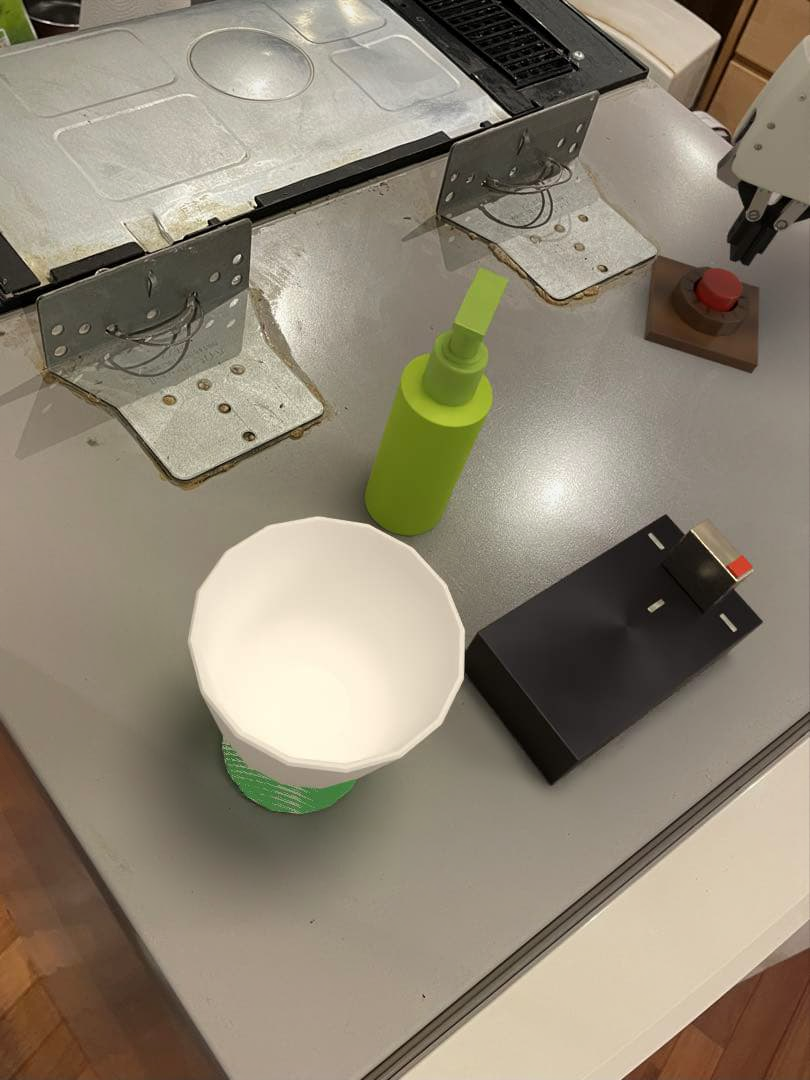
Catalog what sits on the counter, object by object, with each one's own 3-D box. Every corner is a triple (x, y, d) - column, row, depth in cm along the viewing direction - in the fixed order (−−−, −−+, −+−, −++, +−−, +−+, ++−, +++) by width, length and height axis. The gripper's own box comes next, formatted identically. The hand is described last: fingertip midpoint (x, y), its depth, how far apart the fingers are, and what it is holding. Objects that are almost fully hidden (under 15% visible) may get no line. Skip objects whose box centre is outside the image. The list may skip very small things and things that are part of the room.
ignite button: (695, 277, 88) (704, 262, 87) (733, 289, 88) (743, 275, 87) (693, 305, 86) (703, 290, 85) (732, 317, 86) (742, 303, 85)
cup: (417, 844, 60) (490, 760, 47) (185, 866, 56) (192, 783, 43) (387, 637, 66) (444, 513, 53) (178, 646, 63) (183, 515, 50)
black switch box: (654, 537, 75) (684, 501, 71) (744, 639, 72) (782, 608, 68) (456, 663, 67) (477, 630, 62) (550, 786, 63) (579, 760, 59)
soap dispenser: (457, 477, 74) (543, 286, 58) (428, 548, 71) (510, 366, 54) (386, 446, 75) (450, 247, 58) (352, 515, 71) (411, 324, 54)
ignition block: (652, 263, 92) (666, 239, 89) (753, 296, 92) (769, 272, 90) (644, 340, 86) (658, 316, 84) (751, 373, 87) (768, 351, 84)
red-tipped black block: (660, 562, 68) (691, 527, 64) (677, 551, 69) (709, 515, 65) (704, 613, 67) (739, 580, 63) (721, 601, 67) (756, 568, 64)
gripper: (968, 57, 70) (819, 251, 85) (773, -14, 69) (658, 196, 84) (980, 119, 66) (822, 311, 81) (773, 44, 65) (652, 253, 80)
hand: (738, 252), depth 83 cm, fingers closed
